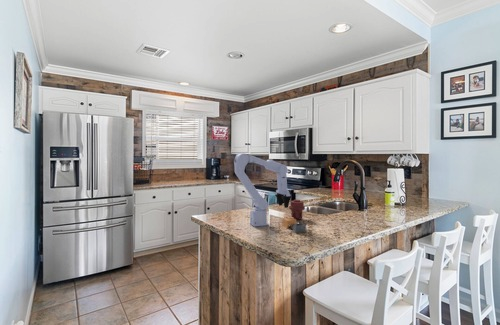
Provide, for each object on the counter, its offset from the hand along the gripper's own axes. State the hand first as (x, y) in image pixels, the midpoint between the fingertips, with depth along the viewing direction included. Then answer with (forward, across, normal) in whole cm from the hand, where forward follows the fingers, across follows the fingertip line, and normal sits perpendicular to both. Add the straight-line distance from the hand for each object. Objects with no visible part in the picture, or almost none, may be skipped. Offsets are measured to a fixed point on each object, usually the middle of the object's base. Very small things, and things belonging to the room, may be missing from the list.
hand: (283, 206), depth 163 cm
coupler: (+10, -16, +1) cm, 19 cm away
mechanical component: (+11, +6, -12) cm, 17 cm away
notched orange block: (+10, -8, +1) cm, 13 cm away
